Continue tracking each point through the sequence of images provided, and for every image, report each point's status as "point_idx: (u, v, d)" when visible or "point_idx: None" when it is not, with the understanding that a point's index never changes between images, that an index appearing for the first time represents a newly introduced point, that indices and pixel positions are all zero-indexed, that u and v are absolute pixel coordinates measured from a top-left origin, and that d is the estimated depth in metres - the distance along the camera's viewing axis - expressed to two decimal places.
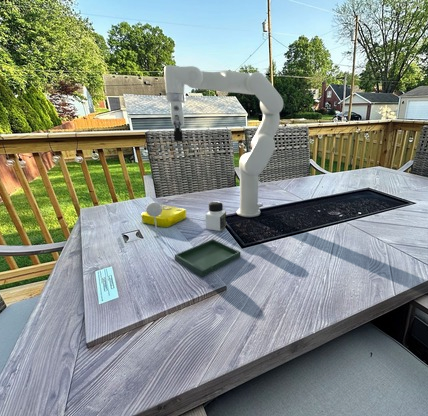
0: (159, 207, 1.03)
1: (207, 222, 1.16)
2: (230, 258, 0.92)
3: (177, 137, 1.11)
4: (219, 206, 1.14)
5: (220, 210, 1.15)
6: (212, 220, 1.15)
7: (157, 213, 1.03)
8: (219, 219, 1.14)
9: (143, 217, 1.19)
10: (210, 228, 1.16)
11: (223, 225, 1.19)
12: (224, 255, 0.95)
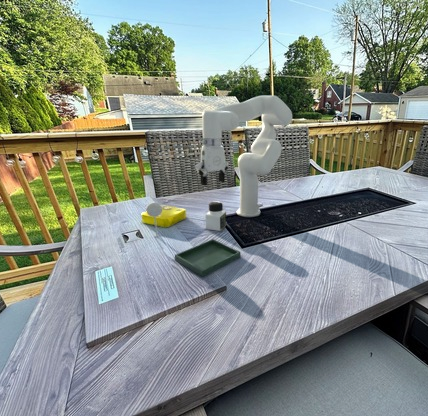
0: (159, 207, 1.03)
1: (207, 222, 1.16)
2: (230, 258, 0.92)
3: (201, 181, 1.08)
4: (219, 206, 1.14)
5: (220, 210, 1.15)
6: (212, 220, 1.15)
7: (157, 213, 1.03)
8: (219, 219, 1.14)
9: (143, 217, 1.19)
10: (210, 228, 1.16)
11: (223, 225, 1.19)
12: (224, 255, 0.95)
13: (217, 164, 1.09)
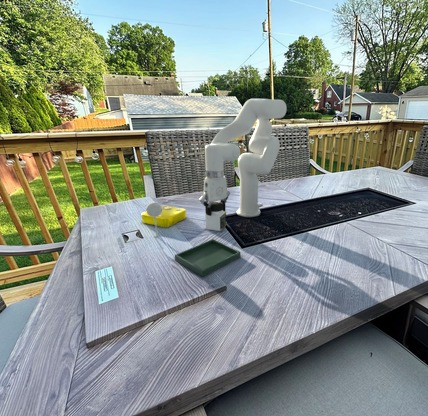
0: (159, 207, 1.03)
1: (207, 222, 1.16)
2: (230, 258, 0.92)
3: (206, 212, 1.13)
4: (219, 206, 1.14)
5: (220, 210, 1.15)
6: (212, 220, 1.15)
7: (157, 213, 1.03)
8: (219, 219, 1.14)
9: (143, 217, 1.19)
10: (210, 228, 1.16)
11: (223, 225, 1.19)
12: (224, 255, 0.95)
13: (219, 194, 1.13)
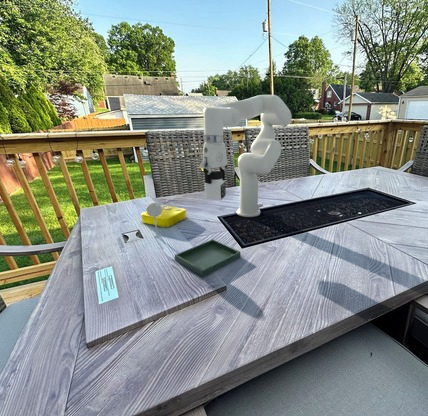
0: (159, 207, 1.03)
1: (207, 191, 1.11)
2: (230, 258, 0.92)
3: (206, 179, 1.08)
4: (219, 174, 1.10)
5: (220, 178, 1.11)
6: (212, 189, 1.10)
7: (157, 213, 1.03)
8: (220, 187, 1.10)
9: (143, 217, 1.19)
10: (210, 197, 1.12)
11: (223, 194, 1.15)
12: (224, 255, 0.95)
13: (219, 161, 1.08)
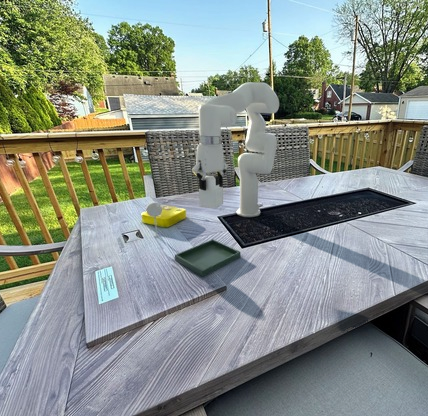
0: (159, 207, 1.03)
1: None
2: (230, 258, 0.92)
3: None
4: None
5: None
6: None
7: (157, 213, 1.03)
8: None
9: (143, 217, 1.19)
10: None
11: None
12: (224, 255, 0.95)
13: None
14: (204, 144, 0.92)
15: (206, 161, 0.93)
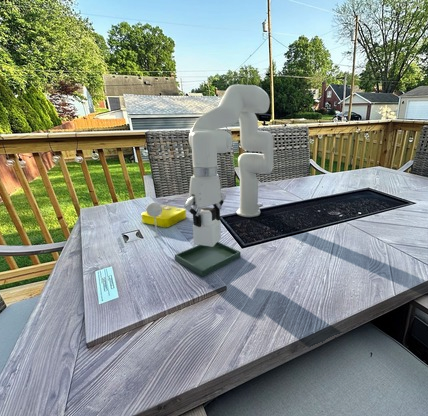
0: (159, 207, 1.03)
1: None
2: (230, 258, 0.92)
3: None
4: None
5: None
6: None
7: (157, 213, 1.03)
8: None
9: (143, 217, 1.19)
10: None
11: None
12: (224, 255, 0.95)
13: None
14: (198, 176, 0.80)
15: (201, 195, 0.82)
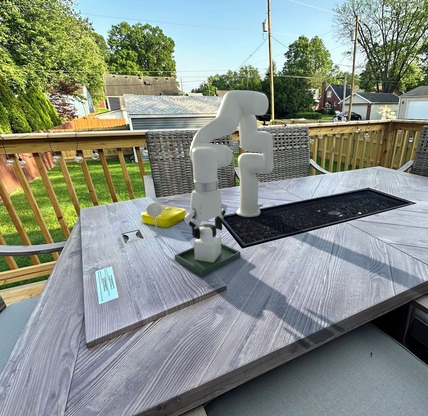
0: (159, 207, 1.03)
1: None
2: (230, 258, 0.92)
3: None
4: None
5: None
6: None
7: (157, 213, 1.03)
8: None
9: (143, 217, 1.19)
10: None
11: None
12: (224, 255, 0.95)
13: None
14: (199, 191, 0.82)
15: (202, 210, 0.83)
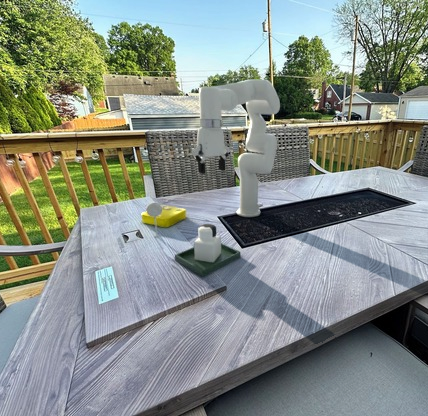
0: (159, 207, 1.03)
1: None
2: (230, 258, 0.92)
3: None
4: None
5: None
6: None
7: (157, 213, 1.03)
8: None
9: (143, 217, 1.19)
10: None
11: None
12: (224, 255, 0.95)
13: None
14: (205, 127, 0.91)
15: (207, 145, 0.92)
